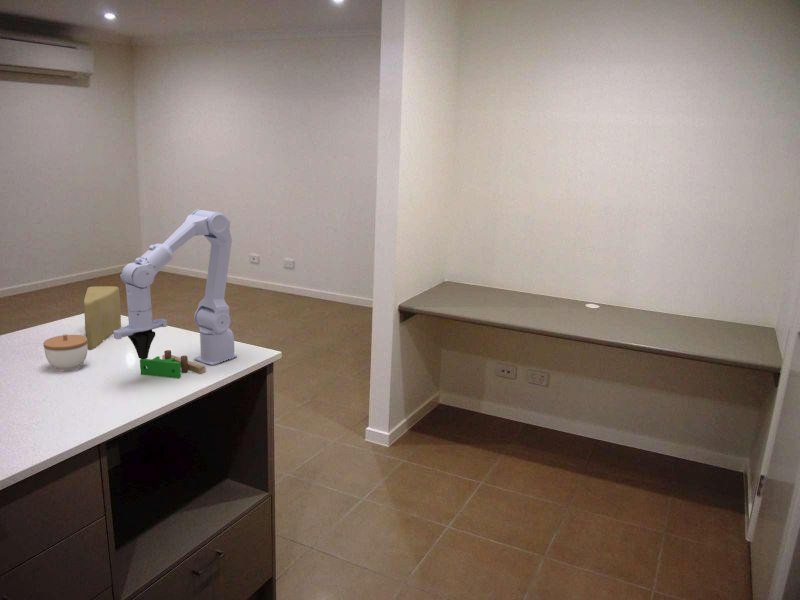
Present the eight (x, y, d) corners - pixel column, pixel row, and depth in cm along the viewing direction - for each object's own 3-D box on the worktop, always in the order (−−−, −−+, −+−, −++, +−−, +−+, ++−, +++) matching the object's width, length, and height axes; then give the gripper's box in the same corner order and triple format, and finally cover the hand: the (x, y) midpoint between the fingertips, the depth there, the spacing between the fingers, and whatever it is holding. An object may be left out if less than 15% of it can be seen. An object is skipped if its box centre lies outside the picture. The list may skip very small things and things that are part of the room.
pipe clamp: (185, 374, 169) (185, 359, 167) (178, 379, 165) (178, 363, 164) (147, 370, 170) (147, 354, 169) (140, 375, 166) (139, 359, 165)
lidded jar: (71, 375, 163) (68, 342, 161) (36, 371, 165) (33, 338, 163) (98, 362, 173) (95, 331, 171) (65, 358, 175) (62, 327, 173)
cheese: (107, 349, 184) (104, 302, 180) (72, 350, 182) (68, 302, 178) (122, 327, 205) (119, 284, 201) (91, 328, 203) (87, 285, 199)
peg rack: (168, 359, 178) (167, 344, 177) (205, 372, 170) (204, 356, 169) (155, 363, 175) (154, 348, 174) (192, 376, 167) (192, 361, 165)
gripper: (154, 300, 166) (157, 347, 169) (104, 312, 154) (108, 362, 157) (170, 305, 162) (173, 353, 166) (121, 317, 150) (125, 368, 154)
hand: (143, 358), depth 161 cm, fingers closed
